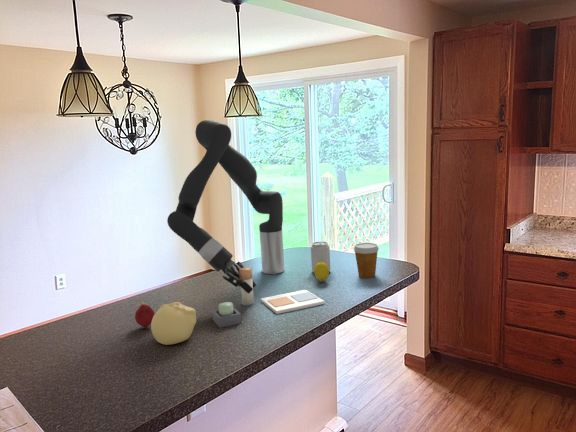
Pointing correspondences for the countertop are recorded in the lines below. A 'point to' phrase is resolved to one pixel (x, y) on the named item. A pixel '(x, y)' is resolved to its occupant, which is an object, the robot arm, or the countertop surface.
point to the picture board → (291, 301)
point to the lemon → (321, 271)
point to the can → (320, 254)
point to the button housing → (227, 318)
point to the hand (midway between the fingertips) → (252, 289)
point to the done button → (225, 309)
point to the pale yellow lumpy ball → (173, 323)
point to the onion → (144, 315)
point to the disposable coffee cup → (366, 259)
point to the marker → (247, 277)
